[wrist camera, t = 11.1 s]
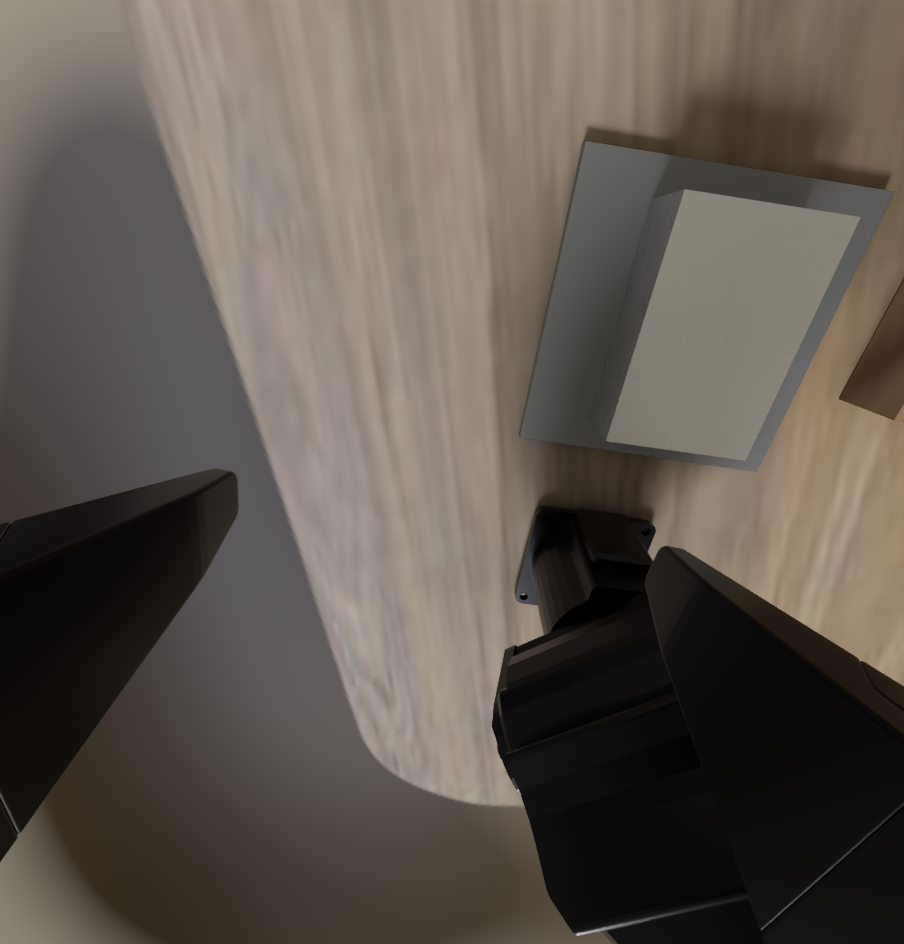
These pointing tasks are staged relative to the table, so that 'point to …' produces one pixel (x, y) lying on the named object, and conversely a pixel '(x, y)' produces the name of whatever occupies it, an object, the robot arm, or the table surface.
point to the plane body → (882, 367)
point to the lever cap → (713, 320)
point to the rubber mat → (608, 268)
